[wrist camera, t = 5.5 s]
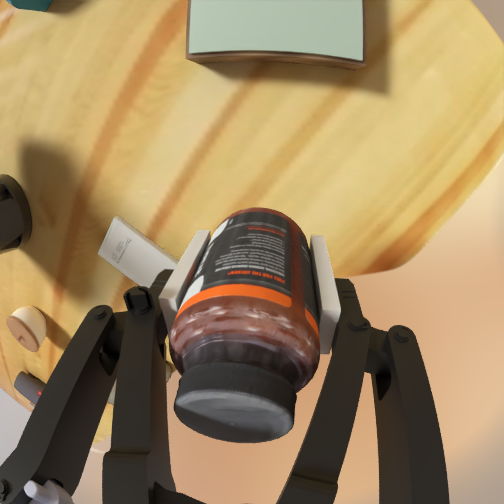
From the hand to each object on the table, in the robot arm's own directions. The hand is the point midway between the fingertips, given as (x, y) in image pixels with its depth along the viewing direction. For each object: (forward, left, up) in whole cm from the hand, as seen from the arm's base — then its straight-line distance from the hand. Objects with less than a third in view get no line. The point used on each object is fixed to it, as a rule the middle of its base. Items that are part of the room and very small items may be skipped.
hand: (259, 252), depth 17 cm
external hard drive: (-19, -13, -19) cm, 31 cm away
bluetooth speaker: (-78, -75, -19) cm, 110 cm away
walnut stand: (0, +21, -19) cm, 28 cm away
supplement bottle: (0, 0, -1) cm, 1 cm away
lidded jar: (-55, -33, -19) cm, 67 cm away
